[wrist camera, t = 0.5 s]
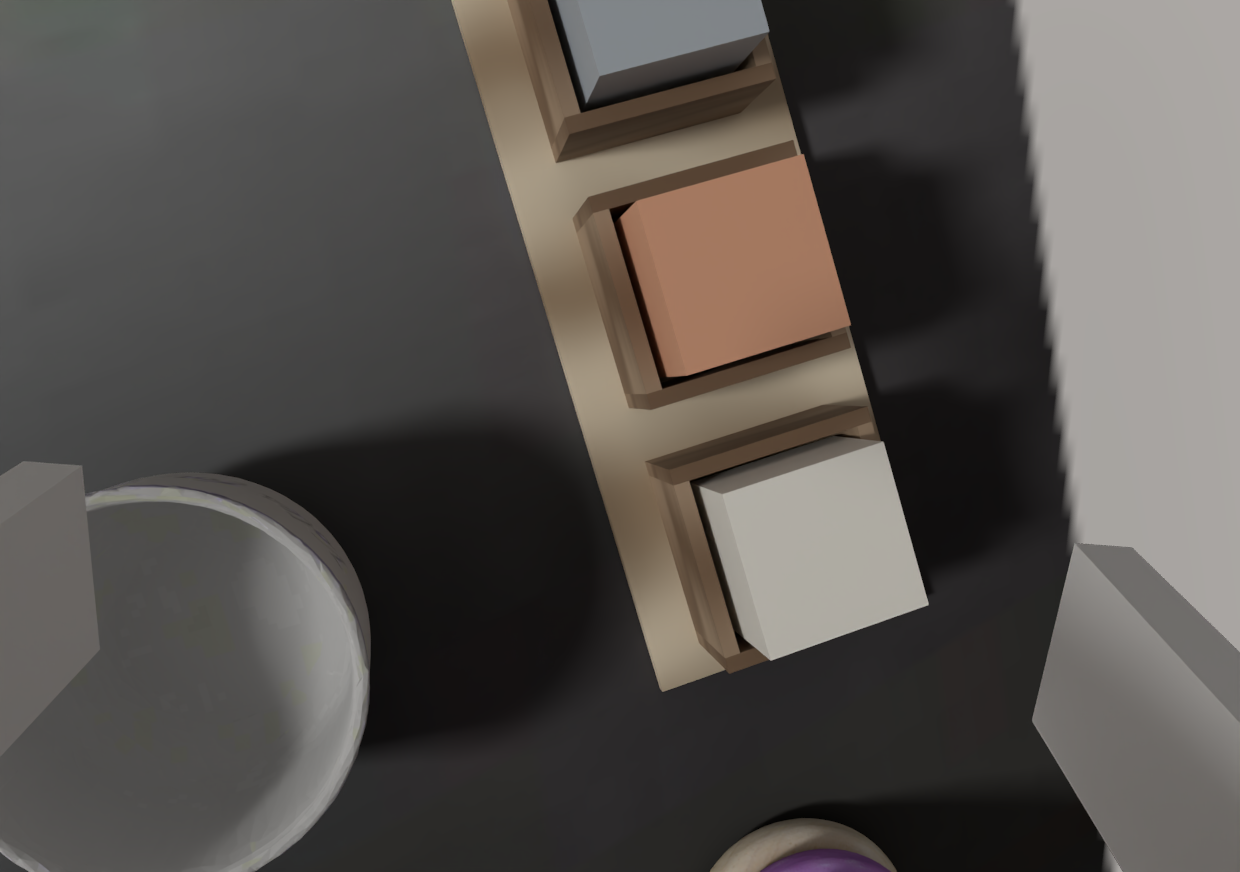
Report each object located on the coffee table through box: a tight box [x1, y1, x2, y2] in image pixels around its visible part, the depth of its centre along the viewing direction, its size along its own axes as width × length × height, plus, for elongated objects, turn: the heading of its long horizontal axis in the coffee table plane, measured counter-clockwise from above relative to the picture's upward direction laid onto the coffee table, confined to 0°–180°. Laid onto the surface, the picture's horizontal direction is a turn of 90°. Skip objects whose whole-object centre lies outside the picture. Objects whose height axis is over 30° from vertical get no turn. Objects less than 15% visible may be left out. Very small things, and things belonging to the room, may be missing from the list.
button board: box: [451, 0, 881, 692], centre depth 34 cm, size 26×10×4 cm, turn 17°
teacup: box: [0, 472, 371, 872], centre depth 30 cm, size 14×11×8 cm
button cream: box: [690, 436, 929, 660], centre depth 32 cm, size 5×5×4 cm
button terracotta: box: [614, 154, 851, 378], centre depth 32 cm, size 5×5×4 cm
